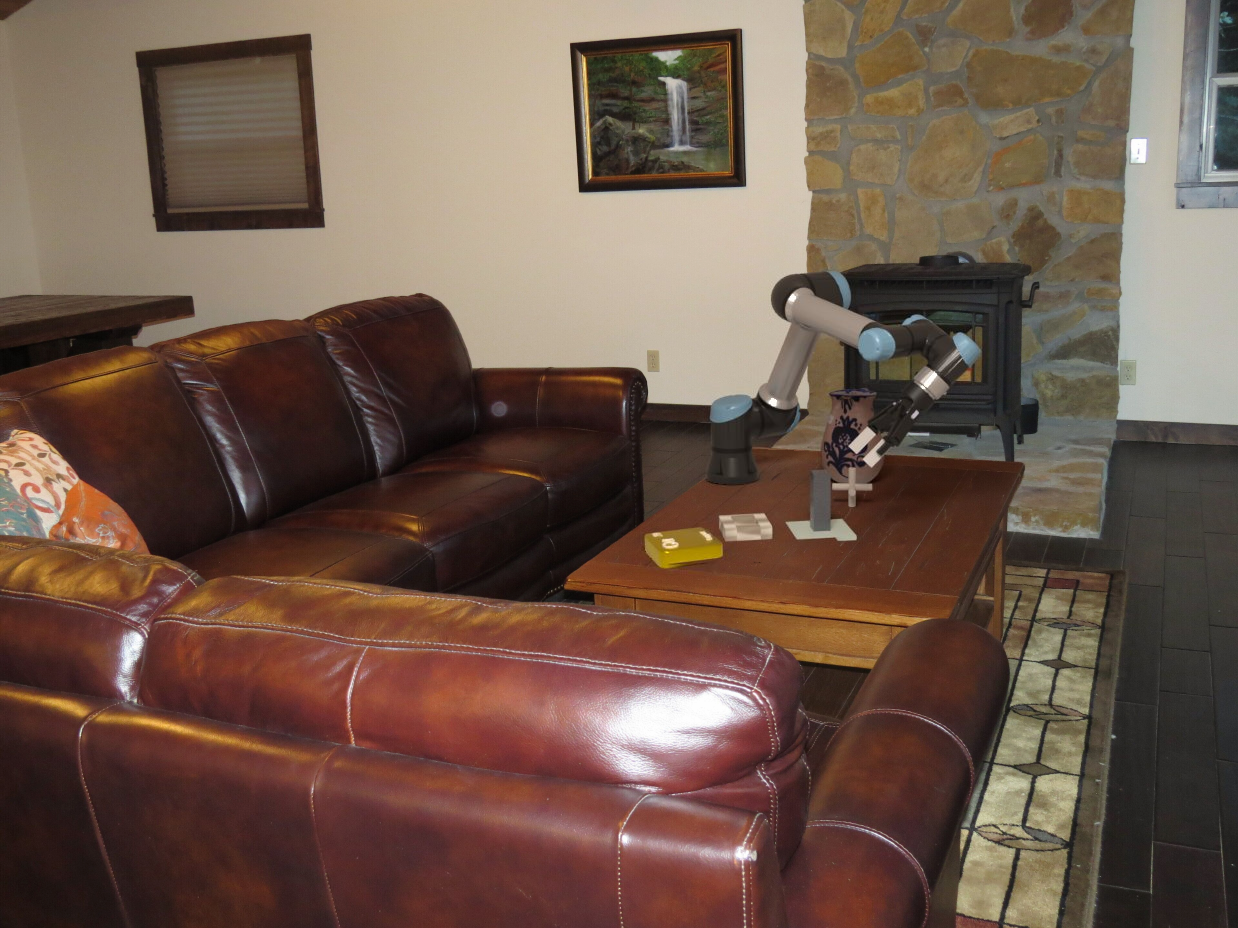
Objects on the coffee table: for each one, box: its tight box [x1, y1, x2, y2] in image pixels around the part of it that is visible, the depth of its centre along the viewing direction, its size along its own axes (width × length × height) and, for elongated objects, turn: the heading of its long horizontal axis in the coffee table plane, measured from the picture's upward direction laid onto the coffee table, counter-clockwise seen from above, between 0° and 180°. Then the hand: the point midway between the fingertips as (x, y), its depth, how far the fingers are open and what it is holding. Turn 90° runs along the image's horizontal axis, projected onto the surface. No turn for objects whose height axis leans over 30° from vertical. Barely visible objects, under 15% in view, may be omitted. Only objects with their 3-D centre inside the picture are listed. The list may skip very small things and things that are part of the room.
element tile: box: [644, 526, 724, 569], centre depth 257 cm, size 15×15×5 cm
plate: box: [785, 518, 858, 542], centre depth 269 cm, size 14×14×1 cm
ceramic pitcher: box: [820, 387, 886, 484], centre depth 312 cm, size 18×21×25 cm
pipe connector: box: [831, 468, 873, 508], centre depth 289 cm, size 10×10×10 cm
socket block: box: [718, 512, 773, 542], centre depth 268 cm, size 11×11×4 cm
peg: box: [809, 469, 832, 532], centre depth 267 cm, size 4×4×14 cm
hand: (859, 456), depth 265 cm, fingers open, 13 cm apart
